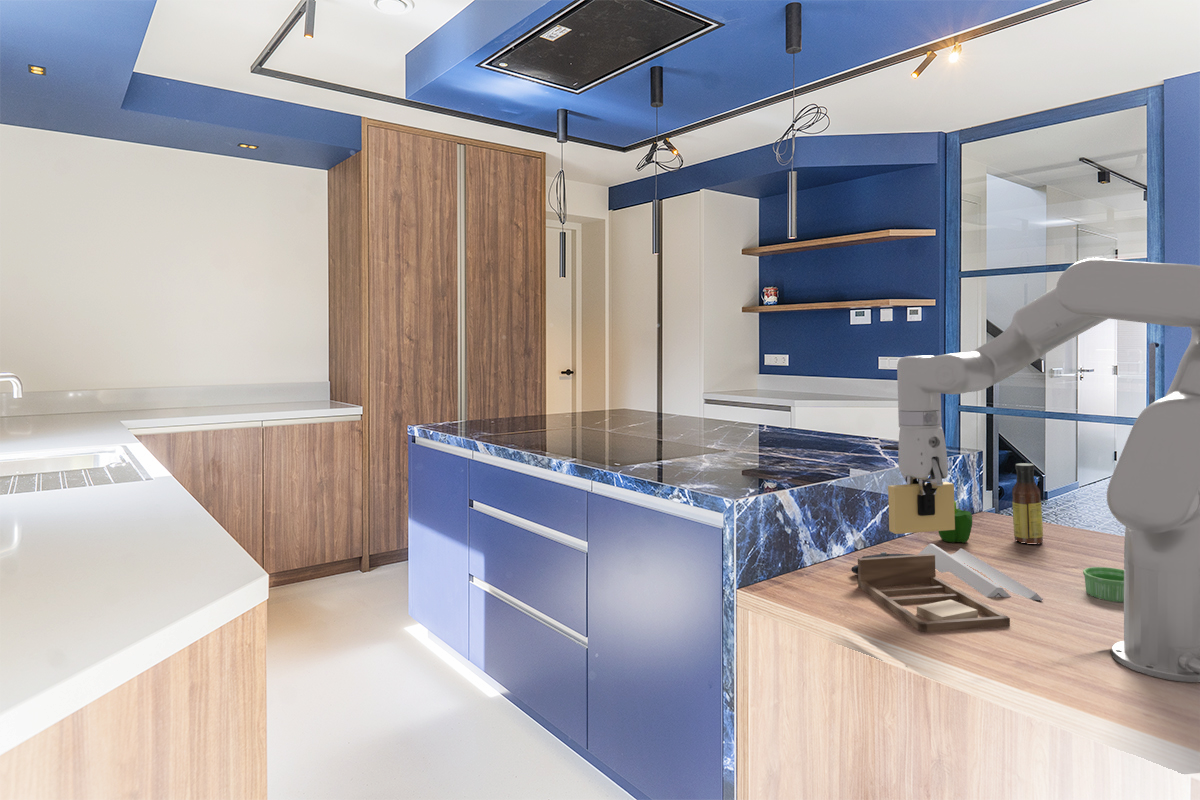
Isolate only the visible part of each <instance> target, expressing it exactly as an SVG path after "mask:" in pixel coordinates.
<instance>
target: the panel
mask: <svg viewBox="0 0 1200 800" xmlns="http://www.w3.org/2000/svg"><path fill="white" fill-rule="evenodd" d="M942 482H943V485H942V486H940V487H938V488H937V490H936V495H935V514H934V515H927V516H920V515H918V501H917V495H920V493H919V484H907V483H906V484H894V485H893V484H891V485H888V486H887V496H888V497H887V499H888V500H887V501H888V525H889V526H888V527H889V529H888V530H889V532H890V533H893V534H895V535H901V534H902V535H903V534H916V533H928V532H938V531H945V530H955V509H954V501H955V484H954V483H952V482H950V481H949V482H948V481H942ZM927 483H928V482H925V485H926V484H927Z"/></svg>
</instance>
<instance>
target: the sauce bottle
mask: <svg viewBox="0 0 1200 800" xmlns="http://www.w3.org/2000/svg"><path fill="white" fill-rule="evenodd" d="M1014 467H1015V470H1016V482H1015V484H1014V485H1013V487H1012V489H1011V495H1012V499H1011V503H1012V519H1013V535H1014V540H1015V541H1016V540H1017V541H1019V542H1025V543H1041V542H1042V543H1043V541H1044V540H1043V539H1044V531H1043V529H1044V526H1043V525H1044V523H1043V509H1042V508H1043V507H1042V499H1041V489H1040V488H1039V487H1038V485H1037V483H1036V481H1035V476H1034V475H1035V470H1036V468H1035V464H1034V463H1028V462H1025V463H1024V462H1023V463H1022V462H1020V463H1015V465H1014ZM1017 541H1016V542H1017ZM1019 542H1018V543H1019ZM1042 543H1041V544H1042Z"/></svg>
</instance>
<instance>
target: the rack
mask: <svg viewBox="0 0 1200 800" xmlns="http://www.w3.org/2000/svg"><path fill="white" fill-rule="evenodd" d="M857 565H858V574H857V580H858V581H857V585H858V588H859V589H861V590H862V591H863V592H865V593H866V594H868V595H869V596H871V597H872V599H875V600H876V601H877V602H878V603H880V604H881V605H883V606H884V607H886V608H887V609H888V610H890V612H892V613H894V614H895V615H896V616H898V617H899V618H901V620H904V621H905V622H906V623H907V624H908V625H910V626H912V627H913V628H914V629H916V630H917V631H918V632H920V633H935V632H947V631H948V632H949V631H961V630H977V629H989V628H990V629H991V628H1001V627H1002V628H1004V627H1010V626H1011V620H1010V619H1011V618H1010V617H1009V616H1007V615H1006V614H1004V613H1002V612H1000V611H998V610H996V609H995V608H993V607H991V606H989V605H988V604H985V603H984V602H982V601H980V600H979V599H977V598H975V597H973V596H971V595H969V594H968V593H966V592H964V591H962V590H960V589H958V588H957V587H955V586H953V585H951V584H950V583H948V582H946V581H945V580H943V579H941V578H939V577H937V576H936V570H935V555H934V554H919V553H917V554H914V555H903V556H888V557H872V558H862V557H858V558H857ZM917 585H918V586H917ZM919 585H929V586H919ZM930 585H931V586H930ZM903 586H904V587H903ZM905 586H917V587H905ZM889 587H891V588H889ZM892 587H899V588H892ZM900 587H902V588H900ZM877 588H886V589H877ZM887 588H888V589H887ZM933 593H934V594H933ZM935 593H944V594H935ZM945 593H946V594H945ZM918 594H931V595H918ZM904 595H905V596H904ZM907 595H908V596H907ZM909 595H915V596H909ZM916 595H917V596H916ZM891 596H901V597H891ZM902 596H903V597H902ZM946 600H953V601H956V602H957V601H960V603H962V604H964V605H966V606H969V607H971V608H974V609H976V610H978V613H980V614H982V615H984V616H983V617H978V618H968V619H954V620H940V621H930V620H928V621H924V620H922V619H920V618H919V617H917V616H916V615H914V614H913V613H912V612H910V611H909V610H907V609H906V608H905V607H903V606H902V605H909V604H911V605H913V604H923V603H925V604H929V603H935V602H940V601H946Z"/></svg>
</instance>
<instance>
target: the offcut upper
mask: <svg viewBox="0 0 1200 800" xmlns="http://www.w3.org/2000/svg"><path fill="white" fill-rule="evenodd" d="M978 613H979V612H978V610H976V609H974V608H972V607H970V606H968V605H966V604H965V603H962V602H958V601H957V600H956V601H953V600H946V601H940V602H929V603H925V604H921V605H920V604H919V605H916V615H918V616H919V617H922V618H924V619H926V620H928V621H940V620H954V619H968V618H979V617H978V616H979V614H978Z"/></svg>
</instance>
